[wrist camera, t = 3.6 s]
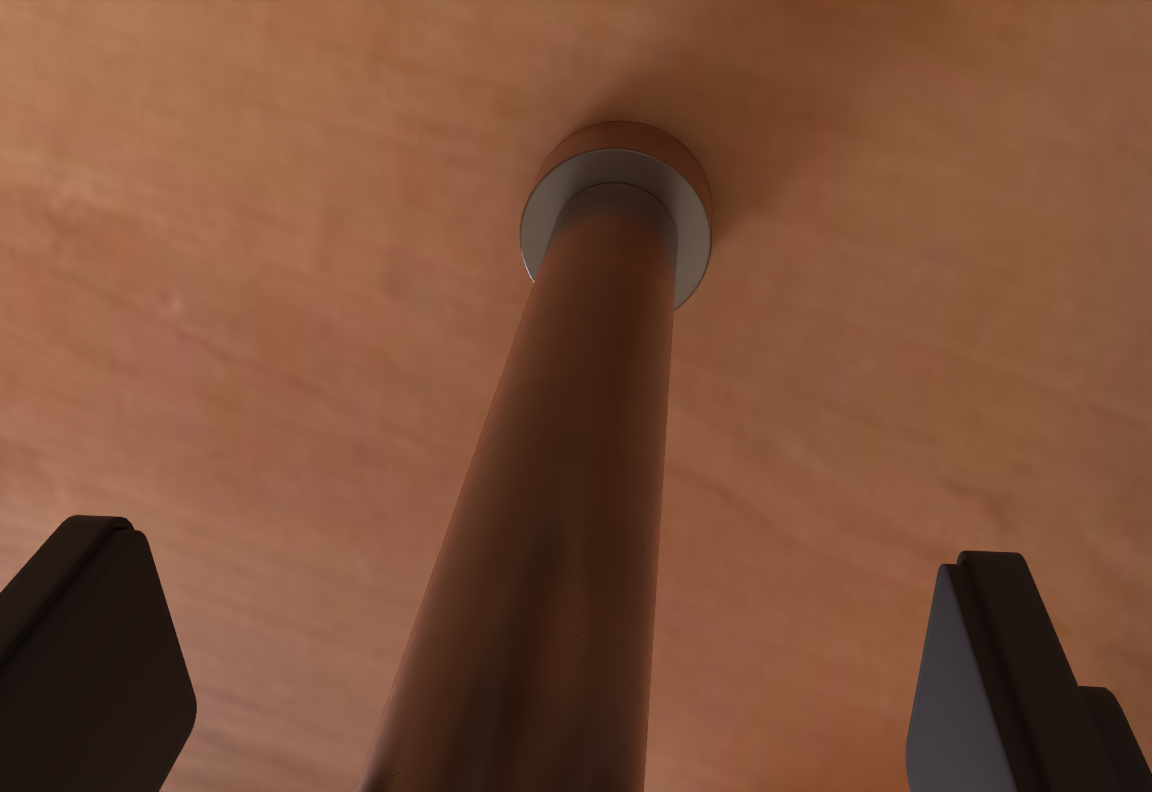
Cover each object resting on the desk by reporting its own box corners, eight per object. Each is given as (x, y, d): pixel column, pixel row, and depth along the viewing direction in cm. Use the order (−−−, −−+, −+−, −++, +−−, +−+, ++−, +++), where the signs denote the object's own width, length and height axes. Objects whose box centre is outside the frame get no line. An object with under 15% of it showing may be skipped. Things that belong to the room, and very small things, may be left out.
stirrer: (714, 119, 22) (737, 916, 6) (708, 292, 24) (714, 1217, 8) (527, 120, 22) (121, 867, 7) (537, 290, 24) (240, 1164, 9)
